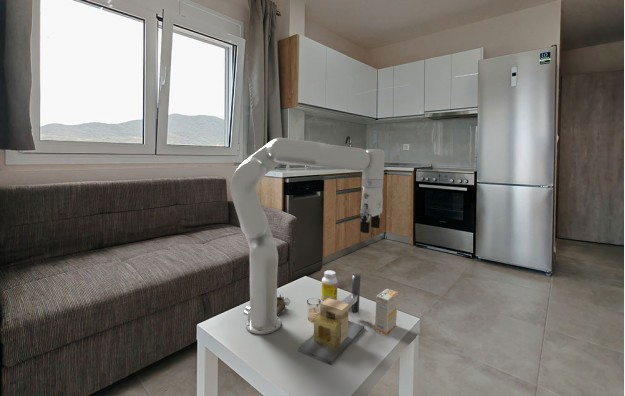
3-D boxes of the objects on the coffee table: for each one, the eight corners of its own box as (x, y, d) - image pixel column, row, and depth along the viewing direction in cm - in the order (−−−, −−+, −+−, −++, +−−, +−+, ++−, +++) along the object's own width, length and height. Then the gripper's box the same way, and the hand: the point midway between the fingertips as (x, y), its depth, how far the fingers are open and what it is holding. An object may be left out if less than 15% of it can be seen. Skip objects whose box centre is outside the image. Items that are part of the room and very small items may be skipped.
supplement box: (384, 321, 121) (386, 288, 119) (396, 325, 118) (398, 291, 116) (373, 330, 115) (375, 295, 113) (386, 335, 112) (388, 299, 110)
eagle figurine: (274, 301, 133) (259, 305, 125) (284, 289, 130) (269, 292, 123) (285, 315, 129) (270, 321, 122) (295, 303, 127) (280, 308, 119)
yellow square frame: (313, 341, 106) (314, 318, 104) (318, 336, 108) (319, 314, 107) (335, 349, 101) (335, 325, 100) (339, 344, 104) (340, 321, 103)
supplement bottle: (335, 306, 132) (336, 276, 130) (319, 304, 133) (320, 274, 132) (337, 298, 139) (338, 270, 137) (322, 297, 140) (323, 268, 138)
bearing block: (298, 350, 102) (299, 313, 100) (335, 318, 122) (336, 287, 120) (331, 364, 96) (332, 325, 94) (364, 328, 116) (366, 295, 114)
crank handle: (329, 329, 109) (330, 290, 107) (353, 308, 124) (354, 273, 122) (336, 332, 107) (338, 292, 105) (360, 310, 123) (361, 275, 121)
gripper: (372, 186, 107) (370, 236, 110) (390, 183, 122) (387, 227, 124) (352, 184, 111) (350, 233, 114) (371, 181, 126) (369, 224, 128)
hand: (370, 230), depth 119 cm, fingers open, 9 cm apart
